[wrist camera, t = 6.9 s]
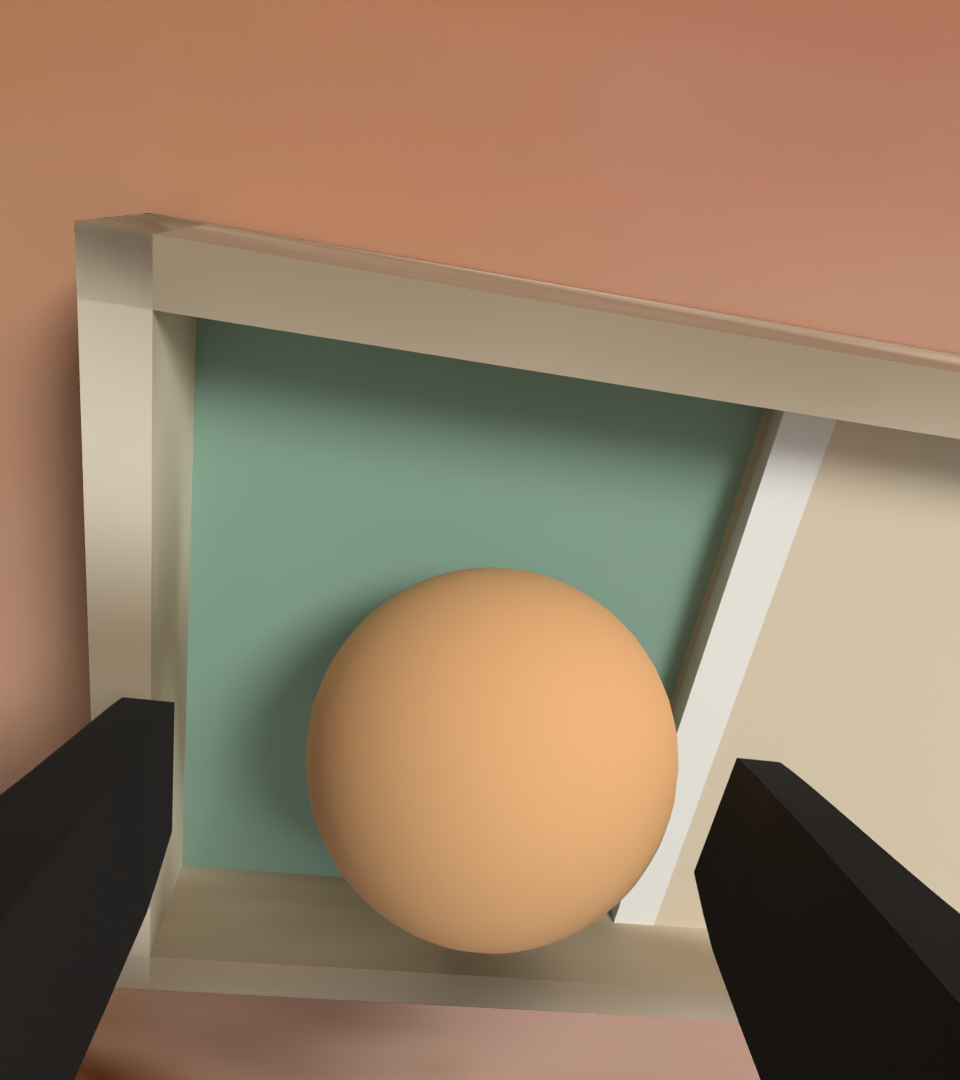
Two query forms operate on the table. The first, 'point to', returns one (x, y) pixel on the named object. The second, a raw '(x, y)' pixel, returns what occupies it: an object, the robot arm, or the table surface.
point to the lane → (572, 580)
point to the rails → (165, 539)
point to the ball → (492, 760)
